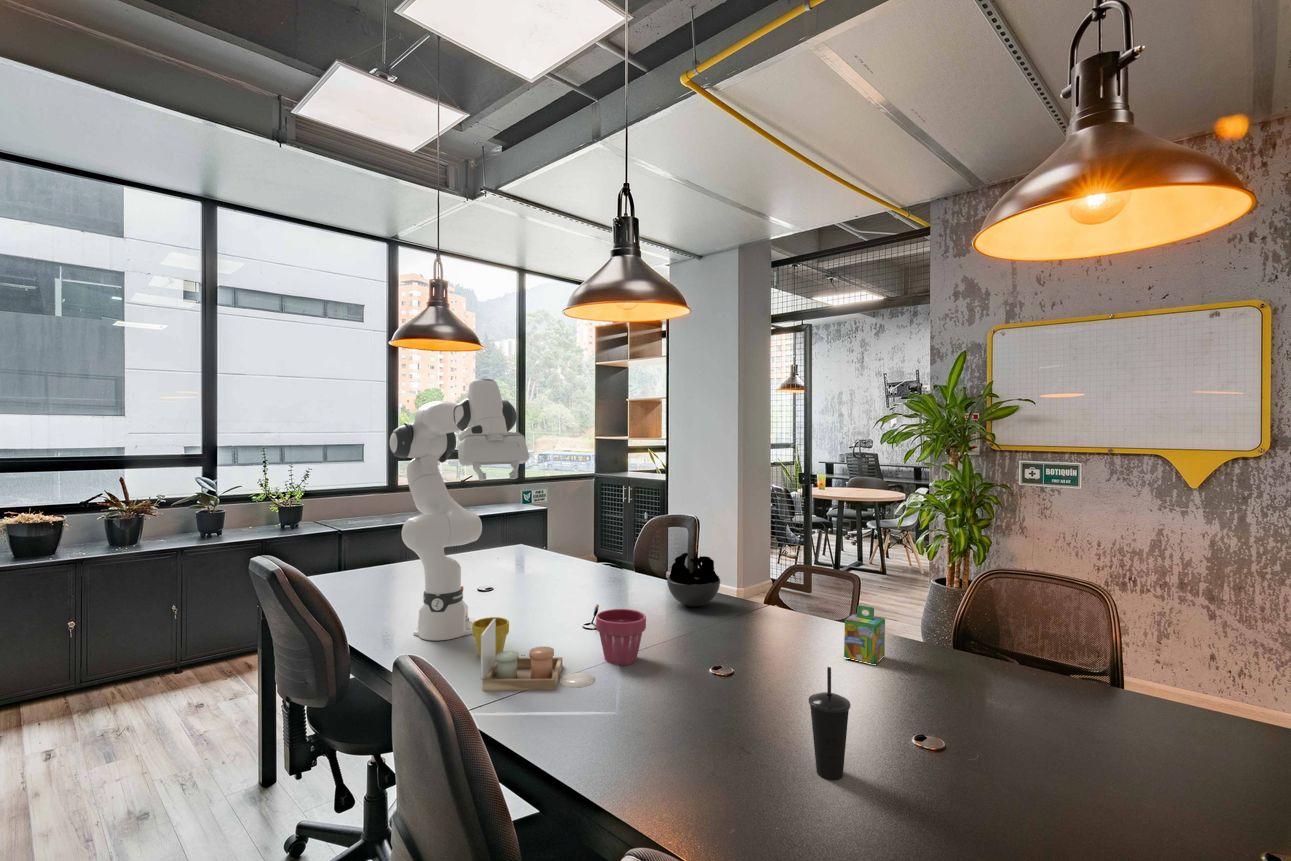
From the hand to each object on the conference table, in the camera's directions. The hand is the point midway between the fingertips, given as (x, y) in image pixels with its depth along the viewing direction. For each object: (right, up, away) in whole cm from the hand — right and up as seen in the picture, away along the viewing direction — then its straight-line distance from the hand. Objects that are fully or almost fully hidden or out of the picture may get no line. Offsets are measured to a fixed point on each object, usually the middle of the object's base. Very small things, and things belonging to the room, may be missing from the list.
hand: (498, 479), depth 173 cm
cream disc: (+23, -52, -11) cm, 58 cm away
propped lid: (0, -49, -10) cm, 50 cm away
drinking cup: (+76, -52, -55) cm, 107 cm away
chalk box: (+104, -52, +6) cm, 116 cm away
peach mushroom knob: (+14, -51, -10) cm, 54 cm away
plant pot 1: (-4, -52, +8) cm, 53 cm away
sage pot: (+5, -51, -10) cm, 52 cm away
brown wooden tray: (+9, -52, -10) cm, 54 cm away
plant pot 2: (+34, -52, +5) cm, 62 cm away
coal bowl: (+59, -53, +61) cm, 100 cm away
